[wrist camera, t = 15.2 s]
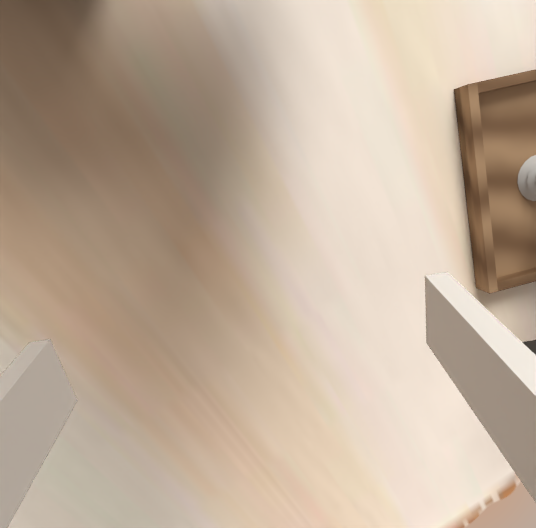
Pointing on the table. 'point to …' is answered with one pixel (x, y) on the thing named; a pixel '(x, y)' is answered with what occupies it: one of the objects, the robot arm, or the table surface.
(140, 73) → the table surface
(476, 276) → the tray
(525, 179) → the chalice
